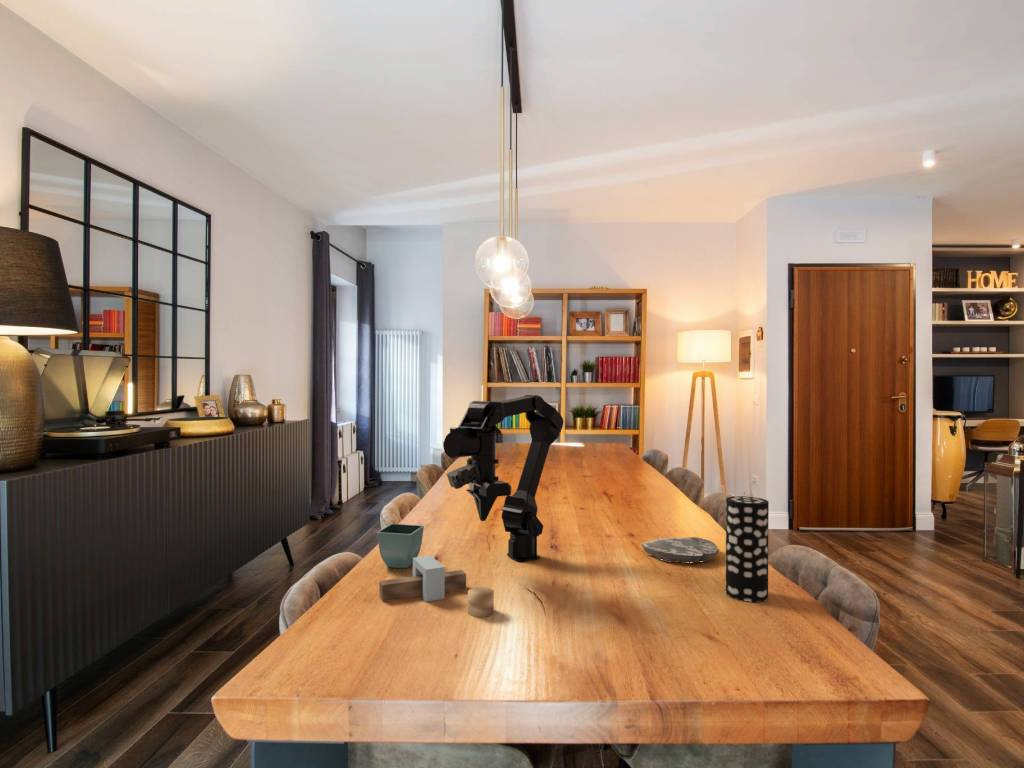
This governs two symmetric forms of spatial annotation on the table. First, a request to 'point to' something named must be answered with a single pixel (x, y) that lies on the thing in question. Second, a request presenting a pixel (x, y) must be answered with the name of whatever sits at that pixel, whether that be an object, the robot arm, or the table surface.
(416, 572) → the grey arch block
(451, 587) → the brown wooden bar
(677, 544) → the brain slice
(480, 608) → the bead
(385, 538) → the flower pot
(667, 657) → the table surface
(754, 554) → the white-spotted black cylinder
